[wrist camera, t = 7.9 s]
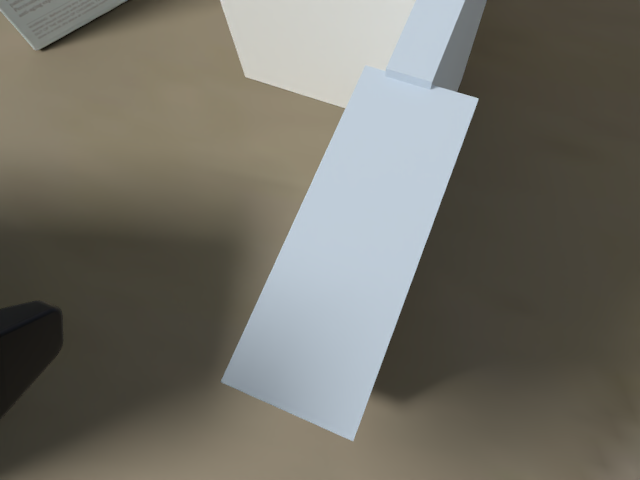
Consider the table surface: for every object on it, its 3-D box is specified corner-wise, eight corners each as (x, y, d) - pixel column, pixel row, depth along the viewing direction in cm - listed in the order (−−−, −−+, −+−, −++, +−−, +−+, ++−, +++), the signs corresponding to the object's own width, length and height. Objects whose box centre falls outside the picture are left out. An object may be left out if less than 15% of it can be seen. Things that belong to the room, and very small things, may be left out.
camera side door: (355, 423, 17) (352, 442, 6) (301, 399, 17) (216, 380, 7) (480, 85, 21) (602, -239, 10) (434, 72, 21) (508, -254, 11)
